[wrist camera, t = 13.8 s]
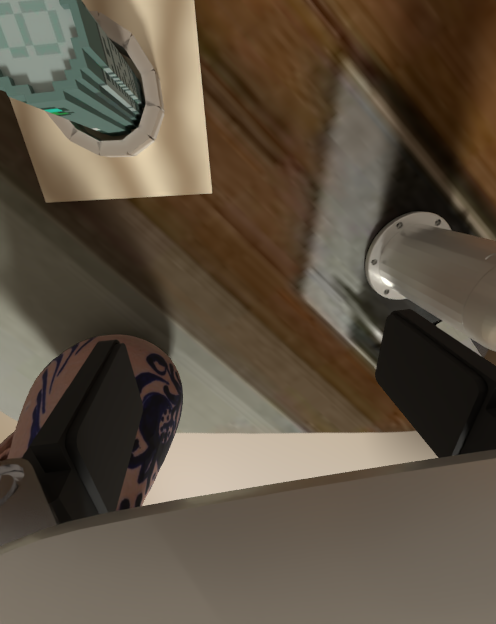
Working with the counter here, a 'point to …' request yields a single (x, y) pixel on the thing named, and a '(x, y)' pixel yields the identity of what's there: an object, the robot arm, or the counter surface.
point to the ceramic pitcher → (154, 421)
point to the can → (67, 65)
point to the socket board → (176, 132)
